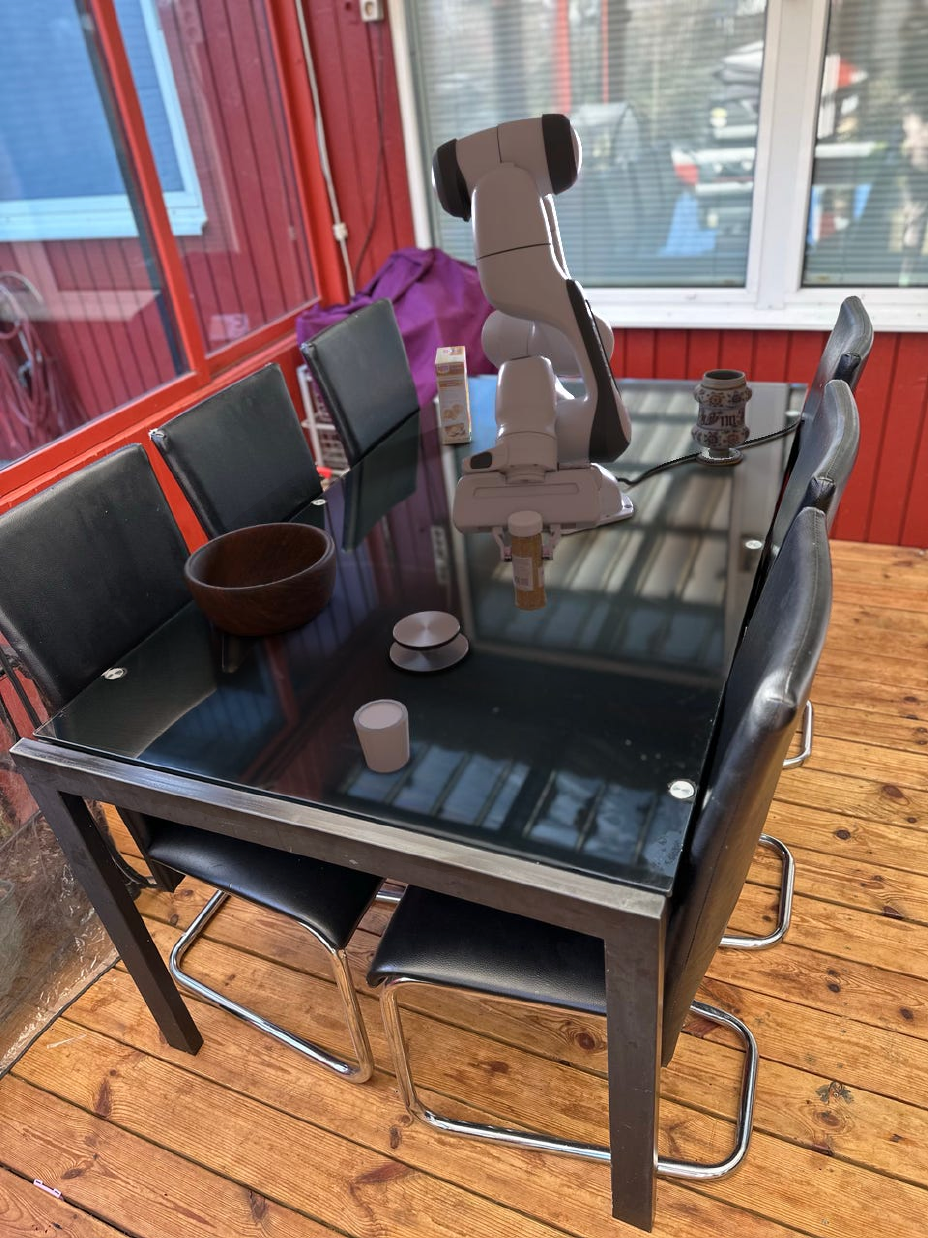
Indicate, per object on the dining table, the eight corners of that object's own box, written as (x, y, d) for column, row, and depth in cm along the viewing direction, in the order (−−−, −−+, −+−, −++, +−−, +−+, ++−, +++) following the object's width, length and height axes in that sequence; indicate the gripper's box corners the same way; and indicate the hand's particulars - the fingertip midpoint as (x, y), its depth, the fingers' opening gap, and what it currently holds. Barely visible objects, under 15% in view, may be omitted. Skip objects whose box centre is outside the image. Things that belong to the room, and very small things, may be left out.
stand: (460, 626, 141) (458, 602, 138) (475, 666, 131) (473, 641, 128) (386, 639, 139) (382, 615, 137) (395, 681, 129) (391, 656, 127)
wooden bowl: (275, 661, 137) (261, 603, 132) (166, 627, 149) (150, 573, 144) (373, 588, 154) (364, 534, 149) (268, 562, 167) (257, 513, 162)
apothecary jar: (755, 451, 192) (762, 368, 183) (737, 470, 183) (743, 384, 174) (701, 444, 198) (705, 364, 189) (681, 463, 190) (684, 380, 180)
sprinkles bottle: (553, 603, 124) (548, 516, 117) (527, 615, 122) (521, 527, 115) (533, 591, 127) (527, 506, 120) (507, 603, 125) (500, 516, 118)
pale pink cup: (362, 744, 117) (353, 702, 114) (413, 738, 117) (406, 695, 114) (360, 779, 111) (352, 735, 108) (415, 772, 111) (408, 728, 108)
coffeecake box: (471, 442, 213) (464, 361, 203) (442, 444, 213) (433, 363, 203) (472, 422, 226) (465, 344, 216) (444, 424, 226) (436, 347, 216)
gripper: (601, 469, 125) (604, 564, 122) (458, 477, 128) (457, 569, 125) (601, 451, 119) (604, 550, 115) (451, 459, 122) (449, 556, 119)
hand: (526, 560), depth 120 cm, fingers closed on sprinkles bottle, 4 cm apart
